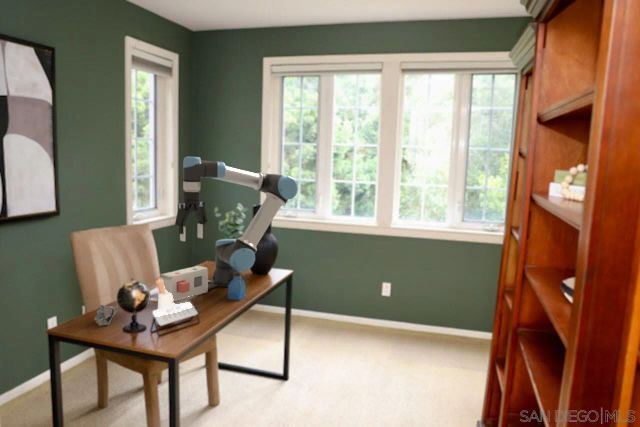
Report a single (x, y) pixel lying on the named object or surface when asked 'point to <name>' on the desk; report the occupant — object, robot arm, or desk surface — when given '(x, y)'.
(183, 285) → the button
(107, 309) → the mineral specimen
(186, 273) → the push button box
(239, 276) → the perfume bottle
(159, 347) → the desk surface
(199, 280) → the button
